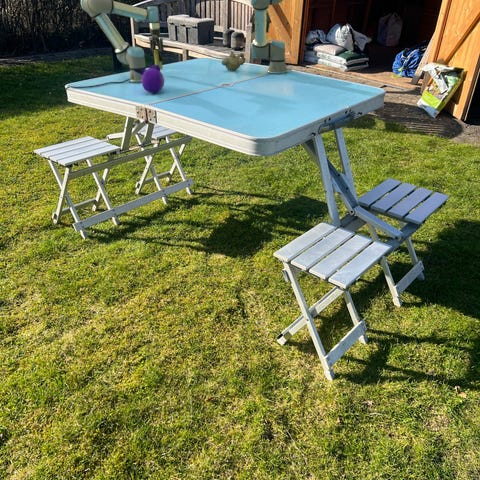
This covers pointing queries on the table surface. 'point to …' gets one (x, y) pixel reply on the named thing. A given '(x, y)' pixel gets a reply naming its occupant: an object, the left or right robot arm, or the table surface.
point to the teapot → (233, 61)
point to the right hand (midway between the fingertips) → (260, 32)
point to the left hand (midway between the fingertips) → (158, 60)
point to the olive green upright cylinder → (157, 59)
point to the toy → (152, 79)
